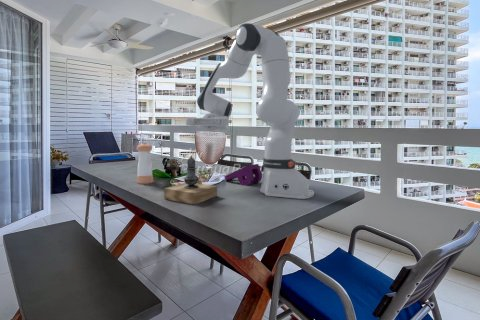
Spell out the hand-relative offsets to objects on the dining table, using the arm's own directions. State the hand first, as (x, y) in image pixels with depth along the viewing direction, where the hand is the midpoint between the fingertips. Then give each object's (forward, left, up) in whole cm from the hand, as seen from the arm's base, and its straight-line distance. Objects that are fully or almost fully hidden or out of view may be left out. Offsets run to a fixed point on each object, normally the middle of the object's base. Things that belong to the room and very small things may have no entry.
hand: (204, 121), depth 122 cm
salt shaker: (+28, +9, -30) cm, 42 cm away
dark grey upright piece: (-9, +20, -26) cm, 33 cm away
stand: (-9, +20, -29) cm, 36 cm away
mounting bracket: (-10, -17, -30) cm, 36 cm away
